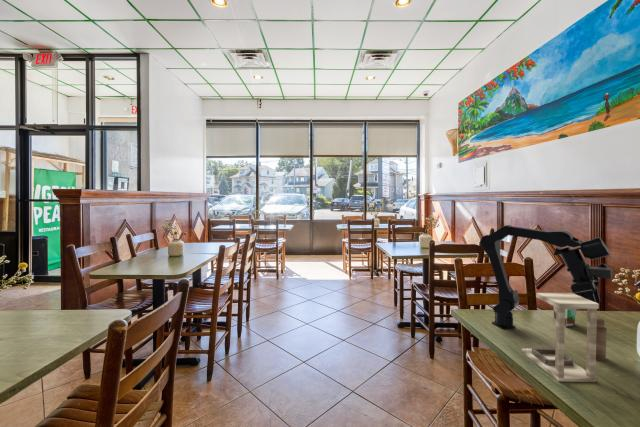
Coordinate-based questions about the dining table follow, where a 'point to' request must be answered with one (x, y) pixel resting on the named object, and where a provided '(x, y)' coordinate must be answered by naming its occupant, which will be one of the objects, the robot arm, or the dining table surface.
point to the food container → (568, 316)
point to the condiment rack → (555, 357)
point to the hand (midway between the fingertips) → (597, 305)
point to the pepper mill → (600, 340)
